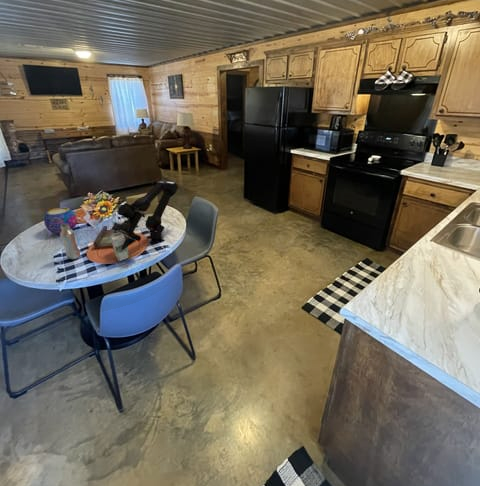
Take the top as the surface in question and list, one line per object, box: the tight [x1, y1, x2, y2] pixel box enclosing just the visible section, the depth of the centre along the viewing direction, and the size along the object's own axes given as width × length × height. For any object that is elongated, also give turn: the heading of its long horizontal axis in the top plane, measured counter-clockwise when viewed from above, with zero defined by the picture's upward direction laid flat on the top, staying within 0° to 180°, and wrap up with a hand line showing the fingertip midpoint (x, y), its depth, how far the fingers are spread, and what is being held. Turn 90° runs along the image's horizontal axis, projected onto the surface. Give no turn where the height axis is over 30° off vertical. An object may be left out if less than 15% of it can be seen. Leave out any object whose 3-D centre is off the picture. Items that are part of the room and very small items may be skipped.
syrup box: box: [110, 232, 130, 263], centre depth 140 cm, size 6×6×14 cm
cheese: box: [125, 192, 159, 215], centre depth 195 cm, size 22×10×15 cm, turn 120°
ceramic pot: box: [43, 206, 78, 235], centre depth 169 cm, size 18×18×15 cm
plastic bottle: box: [59, 224, 81, 261], centre depth 140 cm, size 6×7×20 cm
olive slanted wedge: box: [92, 225, 128, 250], centre depth 162 cm, size 16×22×4 cm
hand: (118, 247), depth 139 cm, fingers closed on syrup box, 7 cm apart
